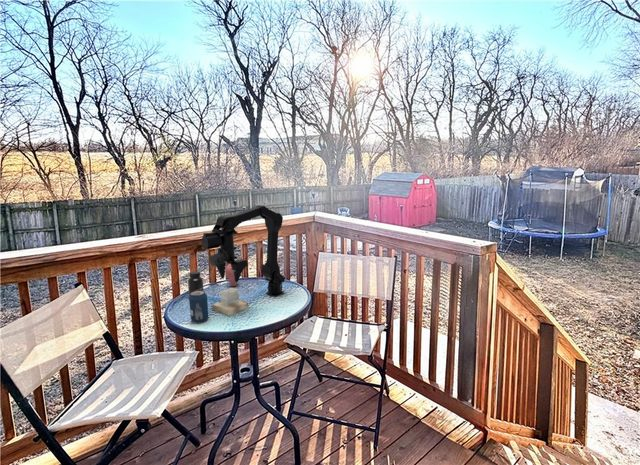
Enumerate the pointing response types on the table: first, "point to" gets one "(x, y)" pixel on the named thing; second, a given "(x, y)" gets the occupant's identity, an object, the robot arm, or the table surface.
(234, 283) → the light bulb
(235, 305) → the thin beige square tile
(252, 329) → the table surface
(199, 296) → the soda can
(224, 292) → the block
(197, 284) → the supplement bottle
